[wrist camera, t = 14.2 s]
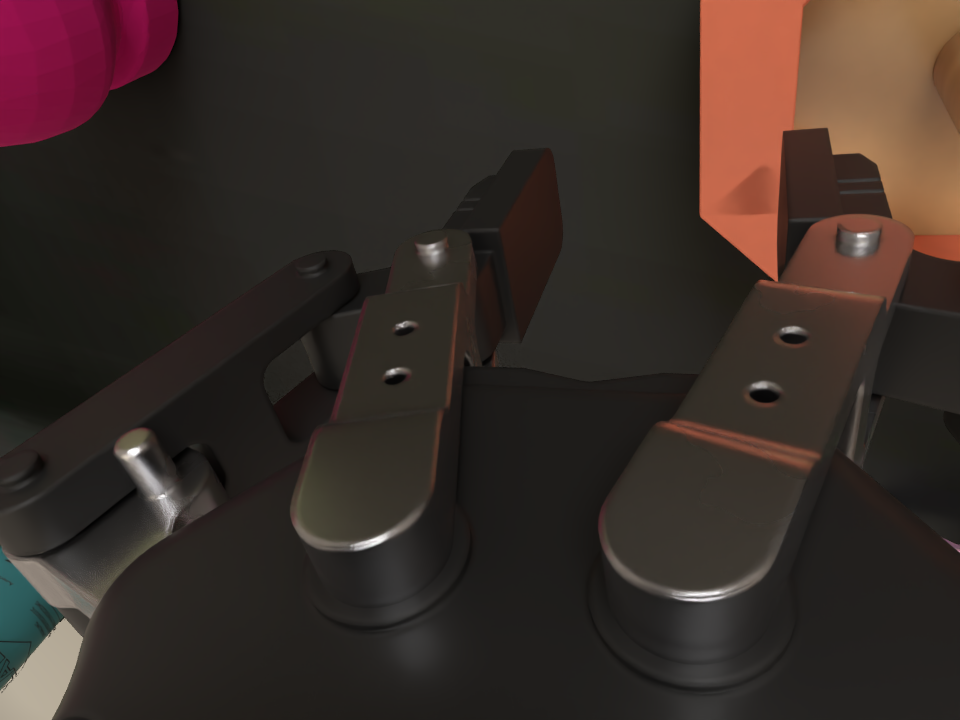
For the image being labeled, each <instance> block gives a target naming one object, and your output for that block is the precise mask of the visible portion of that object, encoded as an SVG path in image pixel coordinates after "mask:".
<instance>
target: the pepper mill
mask: <svg viewBox="0 0 960 720" xmlns="http://www.w3.org/2000/svg"><path fill="white" fill-rule="evenodd" d="M178 14H179V12H178V4H177V0H0V147H3V146H11V145H19V144H27V143H35V142H38V141H42V140H45V139H48V138H51V137H53V136H56V135H59V134H62V133H64V132H67V131H70V130H72V129H75V128H77V127H78V126H80V125H81V124H83V123H85V122H86V121H88V120H89V119H90V118H91V117H92V116H93V115H94V114H95V113H96V112H97V111H98V110H99V109H100V107H101V106H102V104H103V102H104V101H105V99H106V97H107V95H108V93H109V90H113V89H117V88H119V87H121V86H123V85H125V84H127V83H130V82H132V81H134V80H136V79H138V78H140V77H143V76H145V75H147V74H149V73H151V72H153V71H154V70H156V69H157V68H158V67H159V66H160V65H161V64H162V63H163V62H164V61H165V60H166V59H167V57H168V56H169V54H170V52H171V50H172V47H173V45H174V42H175V39H176V36H177V25H178Z"/></svg>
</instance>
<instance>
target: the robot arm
mask: <svg viewBox="0 0 960 720" xmlns="http://www.w3.org/2000/svg"><path fill="white" fill-rule="evenodd" d="M914 238H915V237H914V233H913V232H912V230H911V229H910V228H909V227H908V226H907V225H905V224H903V223H901V222H899V221H897V220H894V219H893V218H892V215H891V211H890V208H889V204H888V201H887V197H886V194H885V192H884V187H883V183H882V181H881V177H880V173H879V170H878V166H877V164H876V163H874V162H873V161H871V160H870V159H868V158H867V157H865V156H864V155H862V154H861V153H852V154H836V155H833V154H832V148H831V142H830V137H829V131H828V128H814V129H801V130H788V131H783V136H782V149H781V167H780V184H779V202H778V220H777V271H778V282H775V281H767V280H758V281H757V282H756V284H755V285H754V287H753V288H752V290H751V291H750V293H749V295H748V296H747V298H746V299H745V301H744V303H743V304H742V306H741V308H740V309H739V311H738V312H737V314H736V316H735V317H734V319H733V321H732V322H731V324H730V325H729V327H728V329H727V330H726V332H725V333H724V335H723V337H722V338H721V340H720V342H719V343H718V345H717V346H716V348H715V350H714V351H713V353H712V355H711V356H710V358H709V359H708V361H707V363H706V364H705V366H704V367H703V369H702V371H701V372H700V374H673V373H660V374H652V375H644V376H636V377H628V378H619V379H611V380H603V381H594V382H585V381H580V380H575V379H571V378H566V377H562V376H557V375H553V374H548V373H544V372H539V371H535V370H530V369H526V368H508V367H499V364H498V359H497V354H496V350H495V349H496V347H497V345H498V343H521V342H522V339H523V337H524V335H525V332H526V330H527V328H528V325H529V323H530V321H531V318H532V316H533V314H534V311H535V309H536V307H537V304H538V302H539V300H540V298H541V295H542V293H543V291H544V288H545V286H546V284H547V281H548V279H549V277H550V274H551V272H552V270H553V267H554V265H555V263H556V260H557V258H558V256H559V253H560V251H561V247H562V239H563V224H562V216H561V208H560V201H559V193H558V186H557V178H556V171H555V163H554V158H553V154H552V152H551V150H550V149H549V148H541V149H528V150H515V151H512V152H511V154H510V155H509V157H508V158H507V160H506V161H505V163H504V164H503V166H502V167H501V169H500V170H499V172H498V173H497V175H493V176H488V177H487V178H485V179H484V180H482V181H481V182H479V183H478V184H476V185H474V186H473V187H472V188H471V189H470V191H469V192H468V194H467V195H466V196H465V198H464V201H462V202H461V203H460V205H459V206H458V208H457V211H455V212H454V213H453V215H452V216H451V217H450V219H449V220H448V222H447V223H446V224H445V226H444V227H443V229H438V230H432V231H428V232H424V233H421V234H418V235H416V236H414V237H412V238H410V239H408V240H406V241H405V242H404V243H402V244H401V245H400V246H399V247H398V248H397V250H396V252H395V254H394V258H393V263H392V267H390V268H385V269H380V270H375V271H370V272H365V273H359V274H356V271H355V268H354V265H353V262H352V259H351V257H350V255H348V254H347V253H345V252H342V251H335V250H330V251H321V252H316V253H312V254H309V255H306V256H303V257H301V258H298V259H296V260H294V261H293V262H291V263H289V264H288V265H286V266H285V267H283V268H282V269H280V270H279V271H277V272H276V273H274V274H273V275H271V276H270V277H268V278H267V279H265V280H264V281H263V282H261V283H260V284H258V285H257V286H255V287H254V288H252V289H251V290H249V291H248V292H246V293H245V294H243V295H242V296H240V297H239V298H237V299H236V300H234V301H233V302H231V303H230V304H228V305H227V306H225V307H224V308H222V309H221V310H219V311H218V312H217V313H215V314H214V315H212V316H211V317H209V318H208V319H206V320H205V321H203V322H202V323H200V324H199V325H197V326H196V327H194V328H193V329H191V330H190V331H188V332H187V333H185V334H184V335H182V336H181V337H179V338H178V339H176V340H175V341H174V342H172V343H171V344H169V345H168V346H166V347H165V348H163V349H162V350H160V351H159V352H157V353H156V354H154V355H153V356H151V357H150V358H148V359H147V360H145V361H144V362H142V363H141V364H139V365H138V366H136V367H135V368H133V369H132V370H130V371H129V372H128V373H126V374H125V375H123V376H122V377H120V378H119V379H117V380H116V381H114V382H113V383H111V384H110V385H108V386H107V387H105V388H104V389H102V390H101V391H99V392H98V393H96V394H95V395H93V396H92V397H90V398H89V399H87V400H86V401H85V402H83V403H82V404H80V405H79V406H77V407H76V408H74V409H73V410H71V411H70V412H68V413H67V414H65V415H64V416H62V417H61V418H59V419H58V420H56V421H55V422H53V423H52V424H50V425H49V426H47V427H46V428H44V429H43V430H41V431H40V432H39V433H37V434H36V435H34V436H33V437H31V438H30V439H28V440H27V441H25V442H24V443H22V444H21V445H19V446H18V447H16V448H15V449H13V450H12V451H10V452H9V453H7V454H6V455H4V456H3V457H1V458H0V545H1V547H2V551H3V553H4V555H5V556H6V557H7V558H8V559H9V560H10V561H11V563H12V564H13V565H14V566H15V567H16V568H17V569H18V570H19V572H20V573H21V574H22V575H23V576H24V577H25V578H26V579H27V581H28V582H29V583H30V584H31V585H32V586H33V587H34V588H35V589H36V591H37V592H38V593H39V594H40V595H41V596H42V597H43V598H44V600H45V601H46V602H47V603H49V604H50V605H52V606H54V607H56V608H57V609H58V610H59V612H60V613H61V614H62V615H63V616H64V617H65V618H66V619H67V621H68V622H69V623H70V624H71V625H72V626H73V627H74V628H75V630H76V631H77V632H78V633H79V634H80V635H81V636H82V637H83V641H82V645H81V648H80V652H79V656H78V660H77V663H76V666H75V669H74V672H73V674H72V677H71V680H70V683H69V685H68V688H67V690H66V692H65V694H64V696H63V699H62V701H61V703H60V705H59V707H58V709H57V711H56V713H55V715H54V717H53V719H52V720H960V552H958V551H957V550H956V549H955V548H954V547H953V546H951V545H950V544H949V543H948V542H947V541H946V540H944V539H943V538H942V537H941V536H940V535H938V534H937V533H936V532H935V531H934V530H933V529H931V528H930V527H929V526H928V525H927V524H926V523H924V522H923V521H922V520H921V519H920V518H919V517H917V516H916V515H915V514H914V513H913V512H911V511H910V510H909V509H908V508H907V507H906V506H904V505H903V504H902V503H901V502H900V501H899V500H897V499H896V498H895V497H894V496H893V495H892V494H890V493H889V492H888V491H887V490H886V489H885V488H883V487H882V486H881V485H880V484H879V483H877V482H876V481H875V480H874V479H873V478H872V477H870V476H869V475H868V474H867V473H866V472H865V471H863V470H862V466H863V463H864V460H865V457H866V454H867V451H868V448H869V445H870V442H871V439H872V436H873V433H874V430H875V427H876V424H877V421H878V418H879V415H880V412H881V409H882V406H883V403H884V400H885V397H889V398H894V399H898V400H902V401H906V402H910V403H914V404H919V405H923V406H927V407H931V408H935V409H939V410H944V414H943V418H944V423H945V426H946V427H947V429H948V430H949V432H950V433H951V434H952V435H953V437H954V438H955V439H956V440H957V442H958V443H959V444H960V261H953V260H947V259H942V258H937V257H933V256H930V255H927V254H924V253H921V252H919V251H916V250H914V249H913V244H914ZM300 338H301V340H302V343H303V345H304V348H305V350H306V353H307V355H308V358H309V360H310V362H311V365H312V367H313V370H314V372H313V373H312V374H311V375H310V376H308V377H307V378H306V379H305V380H304V381H302V382H301V383H300V384H299V385H297V386H296V387H295V388H294V389H293V390H291V391H290V392H289V393H288V394H287V395H285V396H284V397H283V398H282V399H280V400H279V401H278V402H277V403H276V404H274V405H273V406H272V403H271V401H270V399H269V397H268V395H267V393H266V391H265V388H264V384H263V378H264V373H265V370H266V368H267V366H268V365H269V363H270V362H271V361H272V360H273V359H274V358H276V357H277V356H278V355H280V354H281V353H282V352H284V351H285V350H286V349H287V348H289V347H290V346H291V345H293V344H294V343H295V342H296V341H298V340H299V339H300Z"/></svg>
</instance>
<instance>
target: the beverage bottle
mask: <svg viewBox="0 0 960 720" xmlns="http://www.w3.org/2000/svg"><path fill="white" fill-rule="evenodd" d="M64 618H65V617H64V616H63V615H62V614H61V613H60V612H59V610H58V609H57V608H56V607H54V606H52V605H50V604H49V603H47V602H46V601H45V600H44V598H43V597H42V596H41V595H40V594H39V593H38V592H37V591H36V589H35V588H34V587H33V586H32V585H31V584H30V583H29V582H28V581H27V579H26V578H25V577H24V576H23V575H22V574H21V573H20V572H19V570H18V569H17V568H16V567H15V566H14V565H13V564H12V563H11V561H10V560H9V559H8V558H7V557H6V556H5V555H4V553H3V551H2V547H1V545H0V690H1V689H2V688H3V687H5V684H6V683H7V682H8V681H9V680H10V679H11V677H12V679H13V675H14V674H16V675H17V673H16V671H17V670H18V669H19V668H20V667H21V666H22V665H23V663H24V662H26V661H27V659H28V658H29V656H30V655H31V654H32V653H33V652H34V651H35V649H36V648H37V647H38V646H39V645H40V644H41V643H42V641H43V640H44V639H45V638H46V637H47V636H48V634H49V633H50V632H51V631H52V630H55V629H54V628H55V626H56V625H57V624H58V623H59V622H61V621H62V620H63V619H64ZM50 634H51V633H50ZM49 636H50V635H49ZM11 681H12V680H11ZM7 685H8V684H7ZM6 687H7V686H6Z"/></svg>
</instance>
